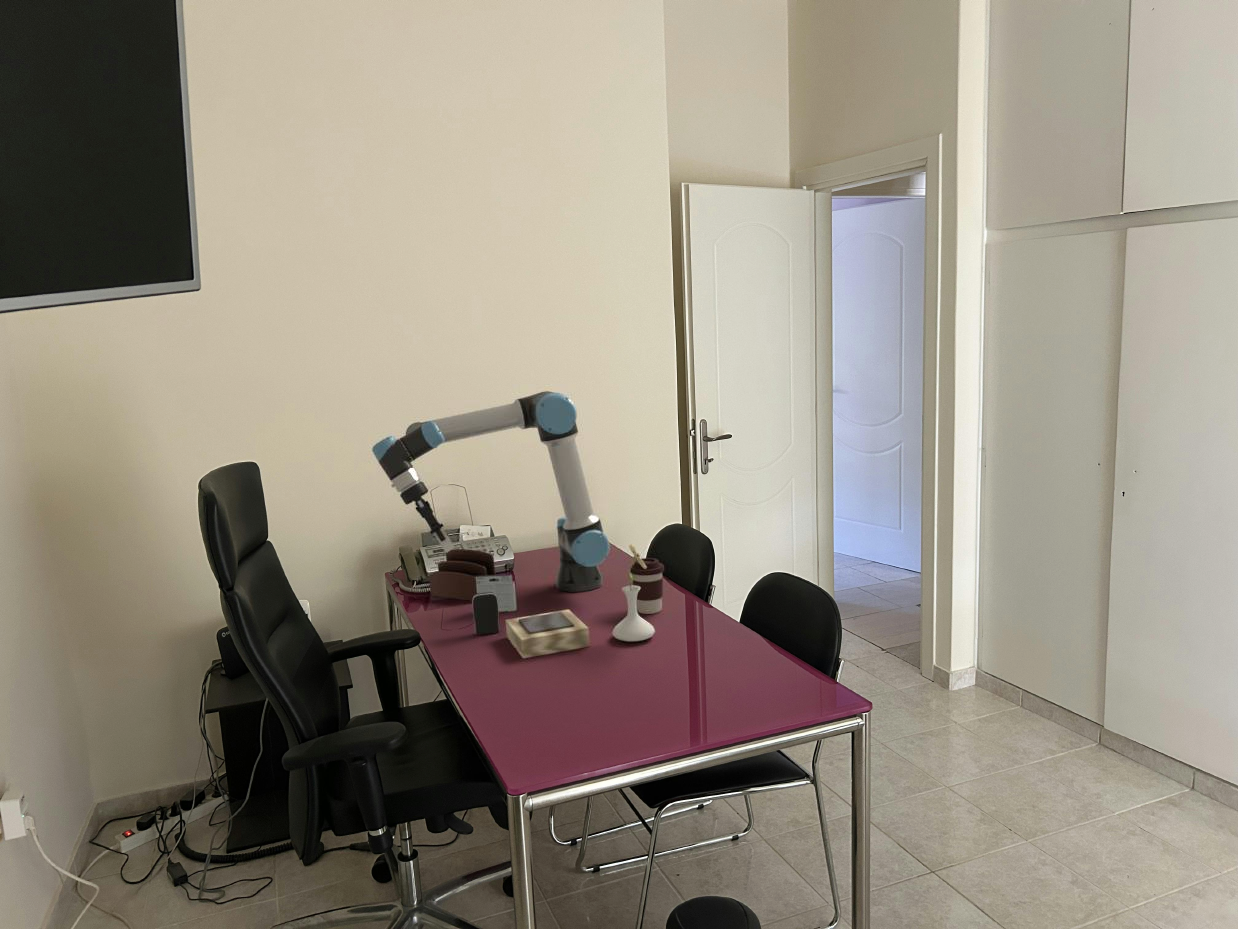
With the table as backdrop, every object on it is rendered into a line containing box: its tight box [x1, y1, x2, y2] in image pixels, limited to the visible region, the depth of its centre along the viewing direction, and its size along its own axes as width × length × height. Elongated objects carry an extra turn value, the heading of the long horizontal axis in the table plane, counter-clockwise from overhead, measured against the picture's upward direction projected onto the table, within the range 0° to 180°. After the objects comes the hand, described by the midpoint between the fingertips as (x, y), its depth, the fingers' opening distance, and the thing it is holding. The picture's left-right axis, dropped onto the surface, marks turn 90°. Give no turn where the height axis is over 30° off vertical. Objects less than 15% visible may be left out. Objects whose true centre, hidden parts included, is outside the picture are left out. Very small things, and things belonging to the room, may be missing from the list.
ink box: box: [476, 573, 518, 613], centre depth 273 cm, size 12×2×12 cm, turn 84°
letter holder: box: [428, 548, 497, 602], centre depth 293 cm, size 10×20×14 cm, turn 60°
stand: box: [505, 609, 591, 659], centre depth 244 cm, size 18×18×6 cm
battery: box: [471, 592, 501, 636], centre depth 254 cm, size 7×4×11 cm, turn 104°
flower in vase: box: [612, 543, 656, 642], centre depth 242 cm, size 13×11×25 cm
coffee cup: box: [630, 557, 665, 615], centre depth 265 cm, size 10×10×15 cm
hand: (450, 549), depth 262 cm, fingers open, 13 cm apart
